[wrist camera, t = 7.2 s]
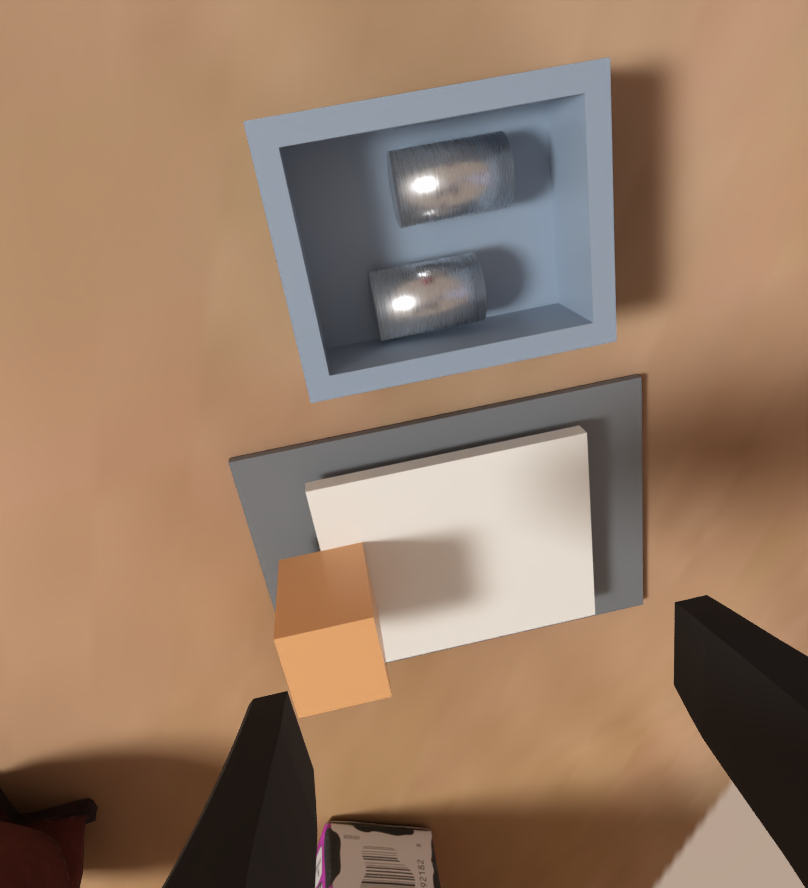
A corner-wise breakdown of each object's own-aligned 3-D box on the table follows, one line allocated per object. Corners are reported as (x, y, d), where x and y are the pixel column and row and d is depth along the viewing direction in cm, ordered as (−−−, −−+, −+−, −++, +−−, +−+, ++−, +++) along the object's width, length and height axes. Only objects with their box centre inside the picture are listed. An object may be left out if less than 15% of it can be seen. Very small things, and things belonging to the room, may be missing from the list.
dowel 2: (466, 242, 17) (484, 267, 16) (470, 303, 18) (488, 332, 17) (364, 262, 17) (373, 289, 16) (375, 322, 18) (384, 352, 17)
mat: (637, 374, 20) (641, 377, 20) (639, 599, 24) (643, 604, 24) (229, 458, 20) (228, 462, 19) (297, 677, 23) (297, 683, 23)
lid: (573, 419, 20) (643, 488, 16) (582, 595, 23) (644, 692, 19) (263, 483, 20) (252, 573, 16) (313, 655, 23) (315, 770, 19)
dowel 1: (489, 143, 17) (507, 120, 15) (501, 214, 17) (519, 199, 15) (385, 162, 17) (390, 141, 15) (398, 233, 17) (404, 220, 15)
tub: (560, 73, 17) (610, 57, 14) (572, 315, 19) (616, 340, 17) (253, 127, 16) (243, 121, 14) (310, 367, 19) (311, 402, 16)
